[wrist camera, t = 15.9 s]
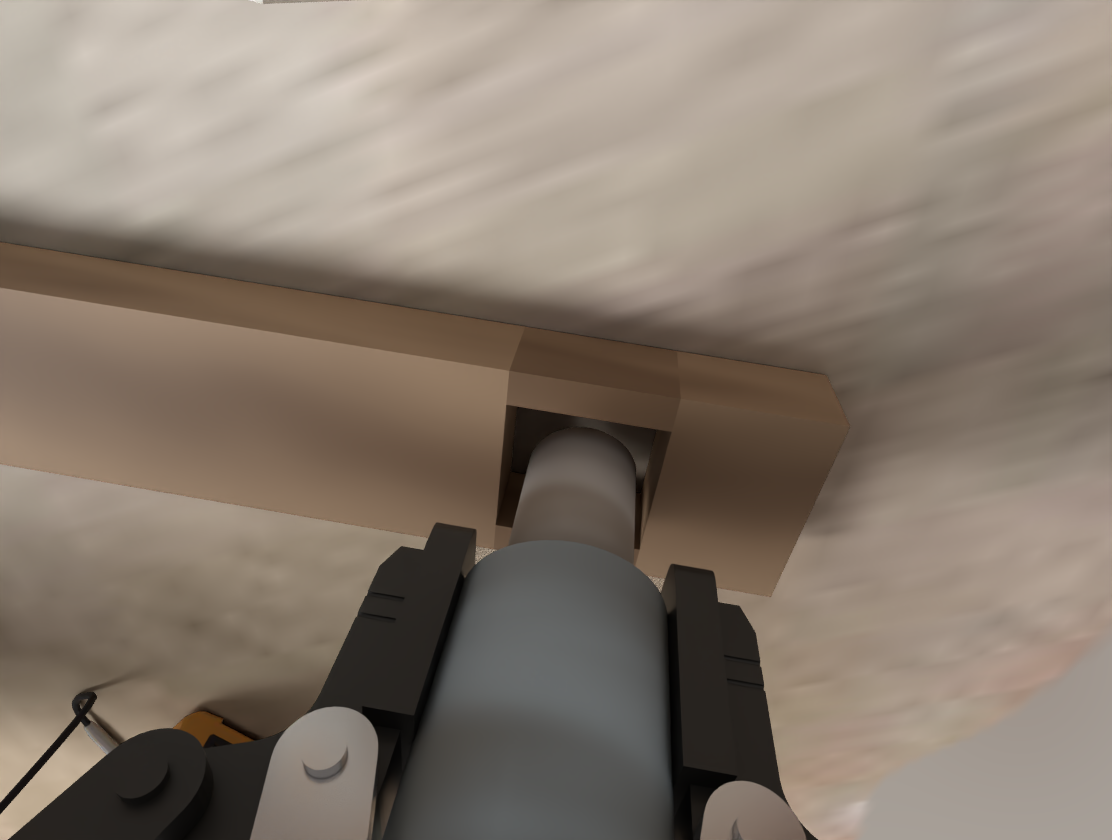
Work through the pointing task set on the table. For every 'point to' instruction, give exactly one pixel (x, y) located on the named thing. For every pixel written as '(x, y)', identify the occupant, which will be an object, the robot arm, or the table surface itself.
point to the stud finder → (290, 1)
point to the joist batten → (390, 410)
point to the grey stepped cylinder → (551, 673)
